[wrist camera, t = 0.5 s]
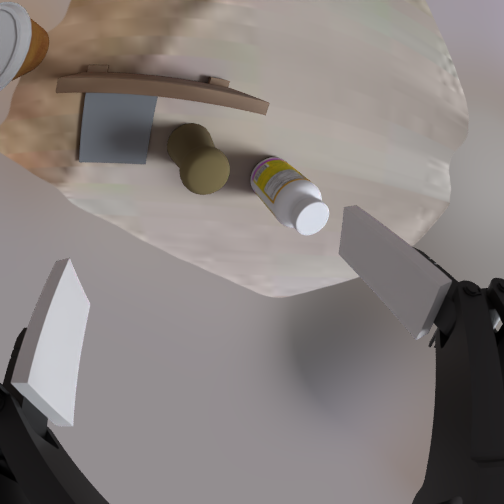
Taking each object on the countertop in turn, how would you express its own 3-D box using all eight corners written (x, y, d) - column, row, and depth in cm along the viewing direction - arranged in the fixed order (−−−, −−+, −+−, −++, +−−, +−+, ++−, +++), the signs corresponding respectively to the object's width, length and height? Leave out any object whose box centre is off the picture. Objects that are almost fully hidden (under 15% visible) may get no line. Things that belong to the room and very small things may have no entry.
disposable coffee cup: (41, 0, 14) (3, -19, 6) (74, 47, 21) (44, 42, 12) (-14, 55, 15) (-65, 64, 6) (18, 101, 21) (-27, 124, 13)
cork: (221, 141, 36) (249, 171, 28) (190, 173, 38) (209, 213, 30) (188, 114, 32) (208, 135, 24) (157, 149, 34) (165, 183, 26)
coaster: (86, 92, 25) (85, 92, 25) (157, 96, 29) (157, 96, 29) (79, 160, 30) (79, 162, 30) (145, 162, 34) (145, 164, 34)
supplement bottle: (288, 190, 45) (332, 235, 36) (250, 199, 44) (287, 249, 35) (289, 152, 41) (338, 190, 32) (247, 159, 39) (288, 201, 30)
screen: (87, 64, 23) (59, 67, 14) (229, 81, 31) (272, 93, 22) (83, 88, 25) (54, 103, 15) (223, 102, 33) (262, 124, 24)
